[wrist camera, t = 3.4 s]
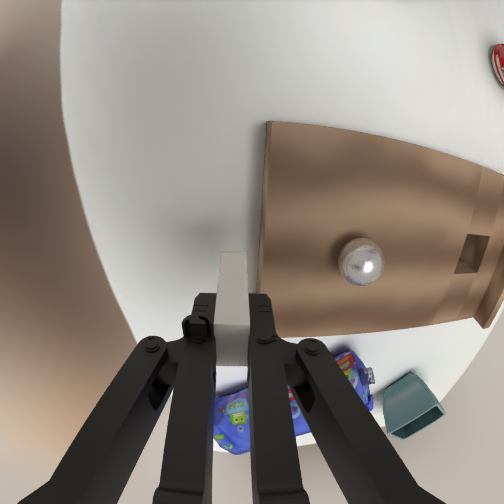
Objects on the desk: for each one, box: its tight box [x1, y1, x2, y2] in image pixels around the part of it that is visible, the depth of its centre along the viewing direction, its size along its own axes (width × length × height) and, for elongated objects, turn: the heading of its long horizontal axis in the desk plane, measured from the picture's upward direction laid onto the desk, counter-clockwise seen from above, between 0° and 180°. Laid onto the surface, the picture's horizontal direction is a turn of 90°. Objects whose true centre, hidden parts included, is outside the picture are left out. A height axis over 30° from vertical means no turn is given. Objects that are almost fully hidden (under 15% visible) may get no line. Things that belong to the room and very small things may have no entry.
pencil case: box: [213, 351, 375, 455], centre depth 30 cm, size 22×9×10 cm, turn 118°
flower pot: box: [383, 373, 446, 440], centre depth 33 cm, size 9×9×9 cm
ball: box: [338, 238, 385, 286], centre depth 19 cm, size 4×4×4 cm
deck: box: [256, 121, 504, 338], centre depth 21 cm, size 18×30×6 cm, turn 87°
